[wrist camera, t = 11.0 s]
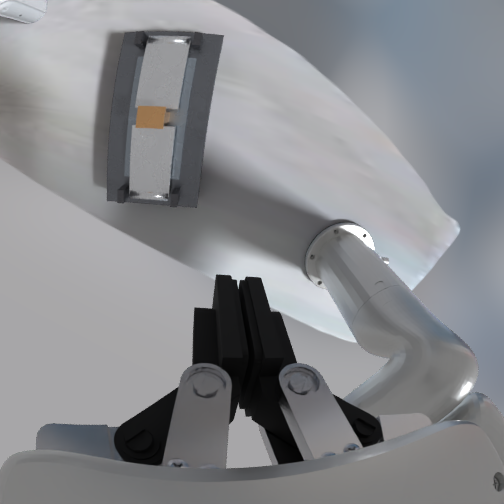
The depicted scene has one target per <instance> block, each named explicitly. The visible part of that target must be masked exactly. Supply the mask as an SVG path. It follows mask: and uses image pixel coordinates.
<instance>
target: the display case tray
mask: <svg viewBox="0 0 504 504" xmlns="http://www.w3.org/2000/svg"><path fill="white" fill-rule="evenodd" d="M149 36H186V37H191V45H190V49H189V54H188V59H187V64H186V69H185V74H184V79H183V85H182V91H181V97H180V103H179V109H166V108H167V107H161V106H138V108H135V104H136V98H137V91H138V85H139V79H140V74H141V68H142V63H143V59H144V54H145V49H146V45H147V41H148V37H149ZM223 37H224V35H215V34H205V33H198V32H195V33H191V32H144V31H141V32H129V33H125V35H124V40H123V44H122V49H121V53H120V58H119V64H118V69H117V75H116V81H115V87H114V94H113V102H112V111H111V120H110V131H109V145H108V166H107V201H117V203H124V202H133V203H147V204H160V205H170V207H177V206H184V207H195V208H197V202H198V195H199V186H200V177H201V169H202V161H203V154H204V147H205V140H206V133H207V126H208V120H209V113H210V107H211V101H212V95H213V90H214V84H215V78H216V73H217V68H218V63H219V58H220V53H221V48H222V43H223ZM134 124H135V125H136V127H135V128H154V129H164V126H176V129H175V138H174V147H173V157H172V168H171V180H170V195H169V199H168V201H160V200H147V199H132V198H130V196H129V182H130V153H131V137H132V125H134Z"/></svg>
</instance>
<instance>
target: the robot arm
mask: <svg viewBox="0 0 504 504" xmlns="http://www.w3.org/2000/svg"><path fill="white" fill-rule="evenodd" d="M388 264H389V259H388V258H385V257H380V256H379V255H378V254H377V253H376V252H375V251H374V243H373V240H372V237H371V236H370V234H369V233H368V232H367V231H366V230H365V229H364V228H362V227H361V226H359V225H357V224H354V223H339V224H335V225H333V226H330V227H328V228H327V229H325V230H324V231H322V232H321V233H320V234H319V235H318V236H317V237H316V238H315V239H314V240H313V242H312V243H311V245H310V247H309V248H308V251H307V254H306V259H305V268H306V271H307V274H308V276H309V278H310V280H311V281H312V282H313V283H314V284H315V285H316V286H318V287H320V288H322V289H325V290H328V292H329V293H330V295H331V297H332V299H333V300H334V302H335V304H336V305H337V307H338V309H339V311H340V312H341V314H342V316H343V318H344V319H345V321H346V323H347V325H348V326H349V328H350V330H351V332H352V334H353V335H354V337H355V339H356V341H357V342H358V344H359V345H360V346H361V347H362V348H363V349H364V350H365V351H367V352H368V353H370V354H373V355H376V356H379V357H383V358H389V359H390V360H389V361H388V362H387V363H386V364H385V365H384V366H383V367H382V368H381V369H380V370H379V371H378V372H377V373H375V374H374V375H373V376H372V377H370V378H369V379H368V380H366V381H365V382H364V383H363V384H361V385H360V386H359V387H358V388H356V389H355V390H353V391H352V392H351V393H350V394H348V395H347V396H346V397H345V398H343V399H341V398H339V397H337V396H335V395H333V394H332V392H331V391H330V389H329V387H328V386H327V384H326V382H325V380H324V379H323V377H322V375H321V374H320V373H319V372H318V371H317V370H316V369H315V368H313V367H311V366H309V365H307V364H302V363H297V361H296V358H295V355H294V352H293V349H292V346H291V343H290V340H289V337H288V334H287V331H286V328H285V325H284V322H283V319H282V316H281V314H280V312H271V310H270V307H269V303H268V300H267V296H266V293H265V290H264V286H263V283H262V279H261V278H259V277H246V278H245V280H240V283H239V288H238V286H237V280H233V279H232V278H231V276H230V275H216V280H215V289H214V297H213V306H212V309H208V308H195V309H194V327H193V359H192V362H193V363H192V366H190V367H188V368H187V369H186V370H185V371H184V372H183V374H182V376H181V380H180V384H179V387H178V388H176V389H175V390H173V391H172V392H170V393H169V394H167V395H166V396H164V397H163V398H161V399H160V400H159V401H157V402H156V403H154V404H153V405H151V406H149V407H148V408H146V409H145V410H144V411H142V412H141V413H139V414H137V415H136V416H134V417H133V418H131V419H129V420H128V421H126V422H125V423H123V424H122V425H121V426H120V427H108V426H107V425H72V424H55V423H53V424H46V425H45V426H43V427H41V428H40V430H39V431H38V433H37V437H36V450H32V451H24V452H19V453H16V454H14V455H12V456H10V457H9V458H8V459H7V460H6V461H5V462H4V464H3V466H2V468H1V470H0V504H504V417H503V415H502V414H501V412H500V411H499V410H498V408H497V407H496V406H495V404H494V403H493V402H492V401H491V400H490V399H489V398H488V397H487V396H486V395H484V394H482V393H478V392H475V393H471V394H469V393H470V391H471V390H472V388H473V386H474V384H475V382H476V379H477V376H478V362H477V359H476V357H475V354H474V353H473V351H472V350H471V349H470V347H469V346H468V345H467V344H466V343H465V342H464V341H463V340H462V339H461V338H460V337H458V335H456V334H455V333H454V332H453V331H452V330H450V329H449V328H448V327H447V326H446V325H445V324H443V323H442V322H441V321H440V320H439V319H438V318H437V317H436V316H435V315H434V314H433V313H432V312H431V311H430V310H429V309H428V308H427V307H426V306H425V305H424V304H423V303H422V302H421V301H420V300H419V299H418V298H417V296H416V295H415V294H414V293H413V292H412V291H411V290H410V289H409V288H408V287H407V285H406V284H405V283H404V282H403V281H402V280H401V279H400V278H399V277H398V276H397V275H396V274H395V273H394V271H393V270H392V269H391V268H390V267H389V266H388ZM238 402H239V407H240V409H245V414H246V416H248V417H249V416H252V420H253V421H255V422H256V423H258V424H259V431H260V433H261V436H262V439H263V441H264V444H265V446H266V449H267V452H268V454H269V457H270V460H271V462H272V466H262V467H249V468H231V469H230V468H229V469H226V459H227V445H228V444H227V443H228V430H229V424H230V423H231V422H232V421H233V419H234V416H235V413H236V409H237V405H238Z"/></svg>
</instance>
